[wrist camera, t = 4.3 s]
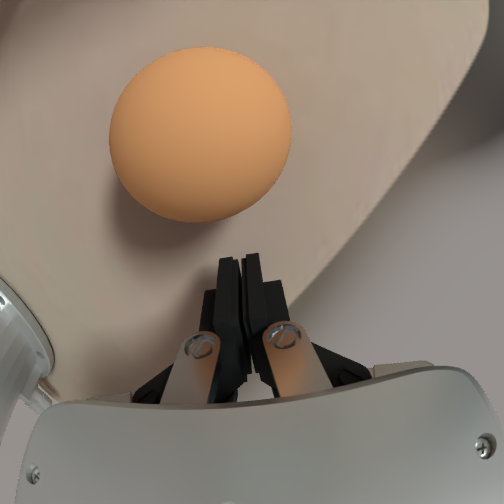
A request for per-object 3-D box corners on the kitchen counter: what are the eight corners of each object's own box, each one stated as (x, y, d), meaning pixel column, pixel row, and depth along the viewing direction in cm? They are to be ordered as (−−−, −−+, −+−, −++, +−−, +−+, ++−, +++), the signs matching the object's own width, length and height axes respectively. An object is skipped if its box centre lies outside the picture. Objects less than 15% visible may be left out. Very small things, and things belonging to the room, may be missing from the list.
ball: (287, 178, 11) (325, 234, 6) (163, 205, 11) (117, 275, 7) (264, 52, 9) (287, 4, 4) (131, 87, 9) (53, 79, 4)
